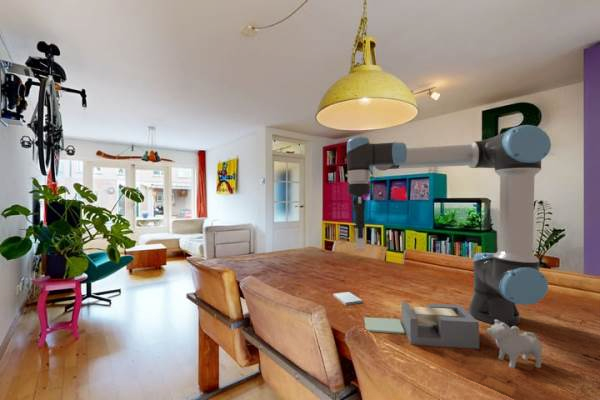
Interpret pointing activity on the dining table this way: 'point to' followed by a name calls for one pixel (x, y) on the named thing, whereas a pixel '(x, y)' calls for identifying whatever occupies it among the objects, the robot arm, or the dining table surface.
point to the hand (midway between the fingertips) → (359, 245)
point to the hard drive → (347, 298)
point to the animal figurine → (515, 343)
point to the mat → (384, 325)
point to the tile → (432, 314)
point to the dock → (442, 328)
